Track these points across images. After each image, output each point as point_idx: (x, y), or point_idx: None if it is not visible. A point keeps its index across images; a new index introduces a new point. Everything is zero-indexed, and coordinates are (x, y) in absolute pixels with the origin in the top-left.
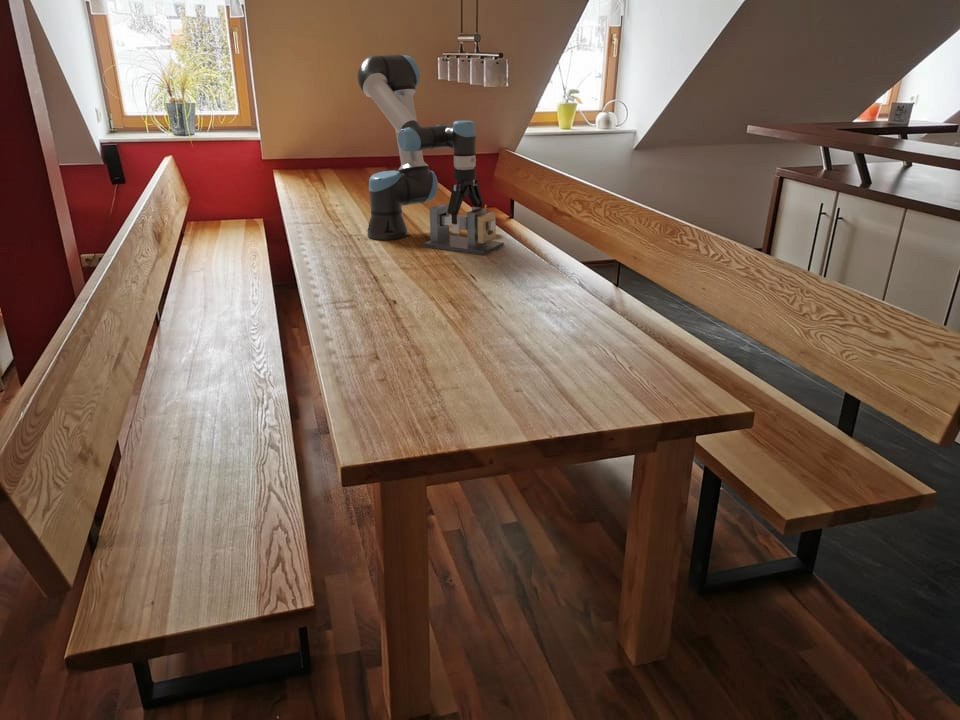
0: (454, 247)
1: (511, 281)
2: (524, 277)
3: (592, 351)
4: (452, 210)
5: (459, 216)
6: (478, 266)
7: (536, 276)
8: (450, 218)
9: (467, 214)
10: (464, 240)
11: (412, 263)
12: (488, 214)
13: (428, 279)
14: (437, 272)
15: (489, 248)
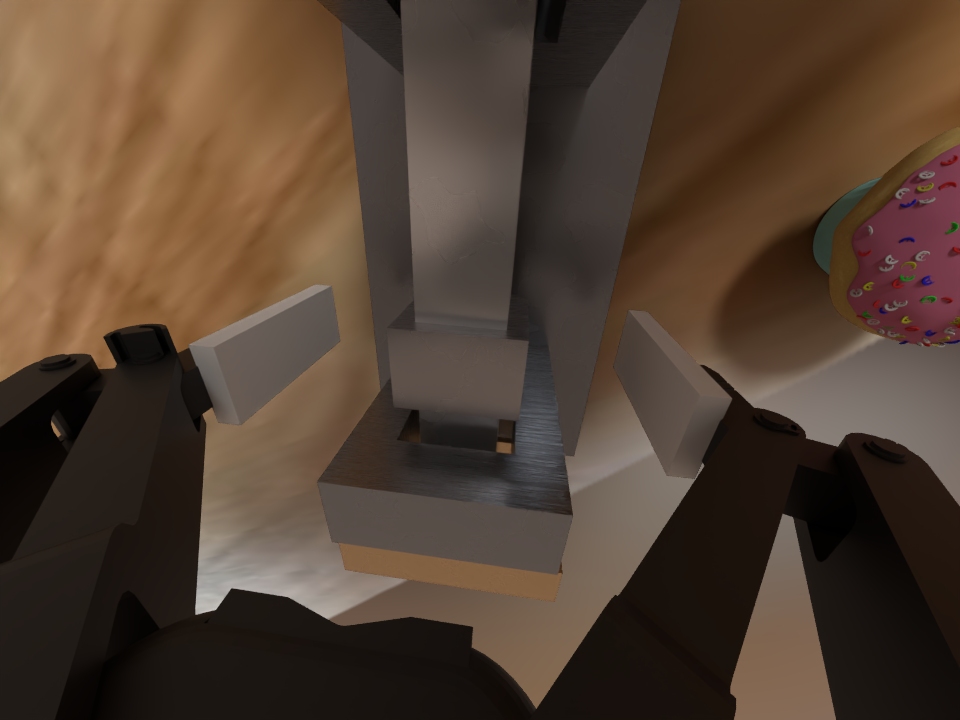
0: (368, 273)
1: (220, 554)
2: (269, 569)
3: None
4: (61, 435)
5: (256, 411)
6: (260, 450)
7: (296, 586)
8: (413, 187)
9: (330, 468)
10: (542, 251)
11: (62, 177)
12: (459, 579)
13: (21, 367)
14: (93, 357)
15: None
